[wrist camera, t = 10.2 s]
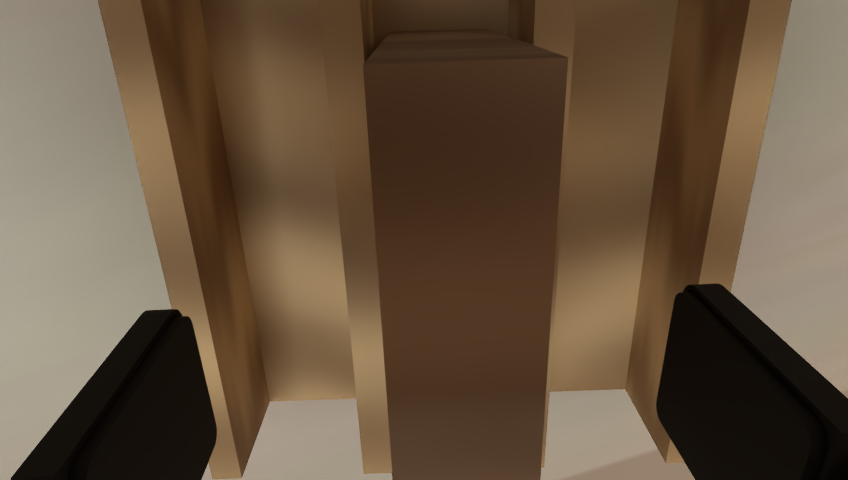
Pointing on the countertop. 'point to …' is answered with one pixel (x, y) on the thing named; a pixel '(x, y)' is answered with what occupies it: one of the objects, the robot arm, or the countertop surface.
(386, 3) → the rack
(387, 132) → the board
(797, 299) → the countertop surface
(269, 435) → the countertop surface
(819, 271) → the countertop surface
